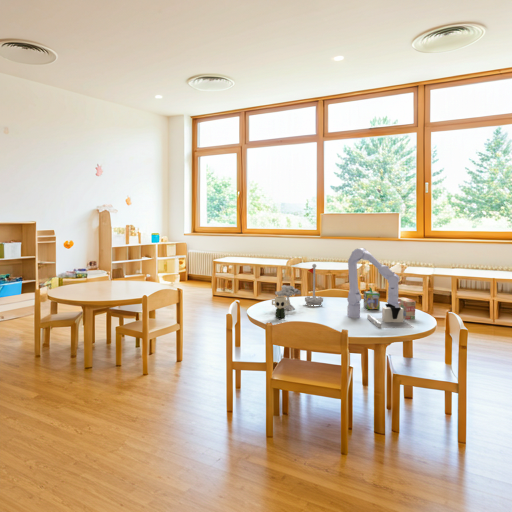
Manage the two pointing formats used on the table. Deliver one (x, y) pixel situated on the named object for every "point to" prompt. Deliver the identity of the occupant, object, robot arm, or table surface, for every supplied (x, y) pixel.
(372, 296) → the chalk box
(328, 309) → the table surface
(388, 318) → the cream carton
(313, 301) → the flag stand
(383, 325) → the shelf deck
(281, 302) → the character mug
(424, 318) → the table surface
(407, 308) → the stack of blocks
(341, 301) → the table surface
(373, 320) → the price rail
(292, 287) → the tree
